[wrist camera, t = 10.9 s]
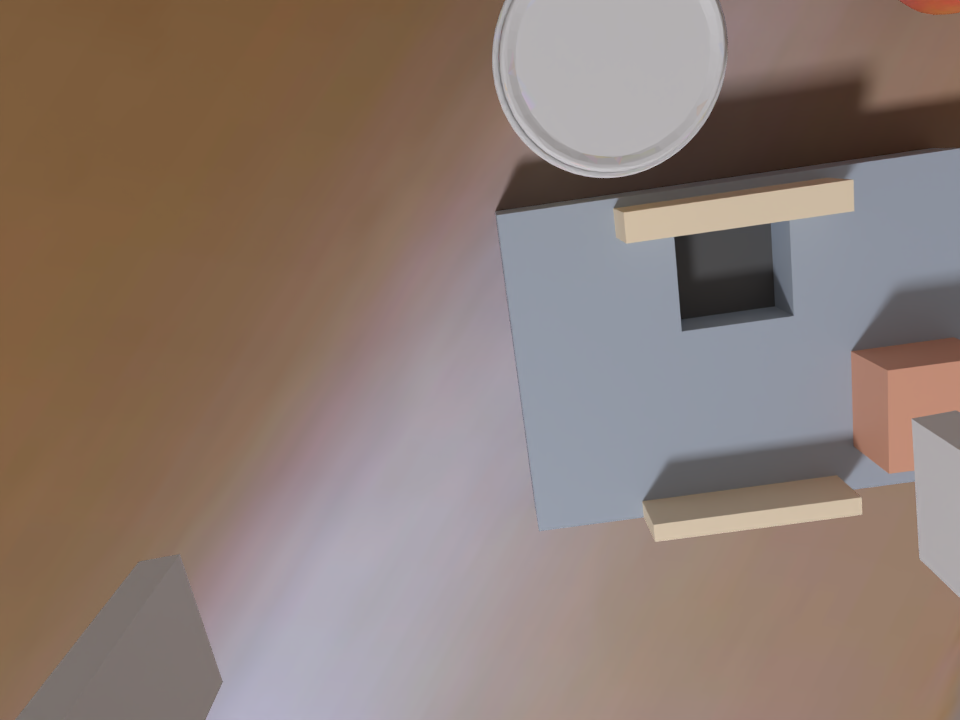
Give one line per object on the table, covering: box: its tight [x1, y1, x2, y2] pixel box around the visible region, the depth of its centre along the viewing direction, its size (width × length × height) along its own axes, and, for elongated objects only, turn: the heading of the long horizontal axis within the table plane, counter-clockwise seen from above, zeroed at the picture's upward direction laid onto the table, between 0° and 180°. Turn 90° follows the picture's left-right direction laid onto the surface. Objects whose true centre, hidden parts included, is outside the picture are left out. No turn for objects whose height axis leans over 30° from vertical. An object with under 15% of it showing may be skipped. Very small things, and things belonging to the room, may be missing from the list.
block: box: [851, 337, 960, 474], centre depth 42 cm, size 6×6×4 cm
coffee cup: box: [492, 0, 728, 178], centre depth 37 cm, size 9×9×12 cm
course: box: [495, 148, 960, 542], centre depth 44 cm, size 18×24×6 cm
